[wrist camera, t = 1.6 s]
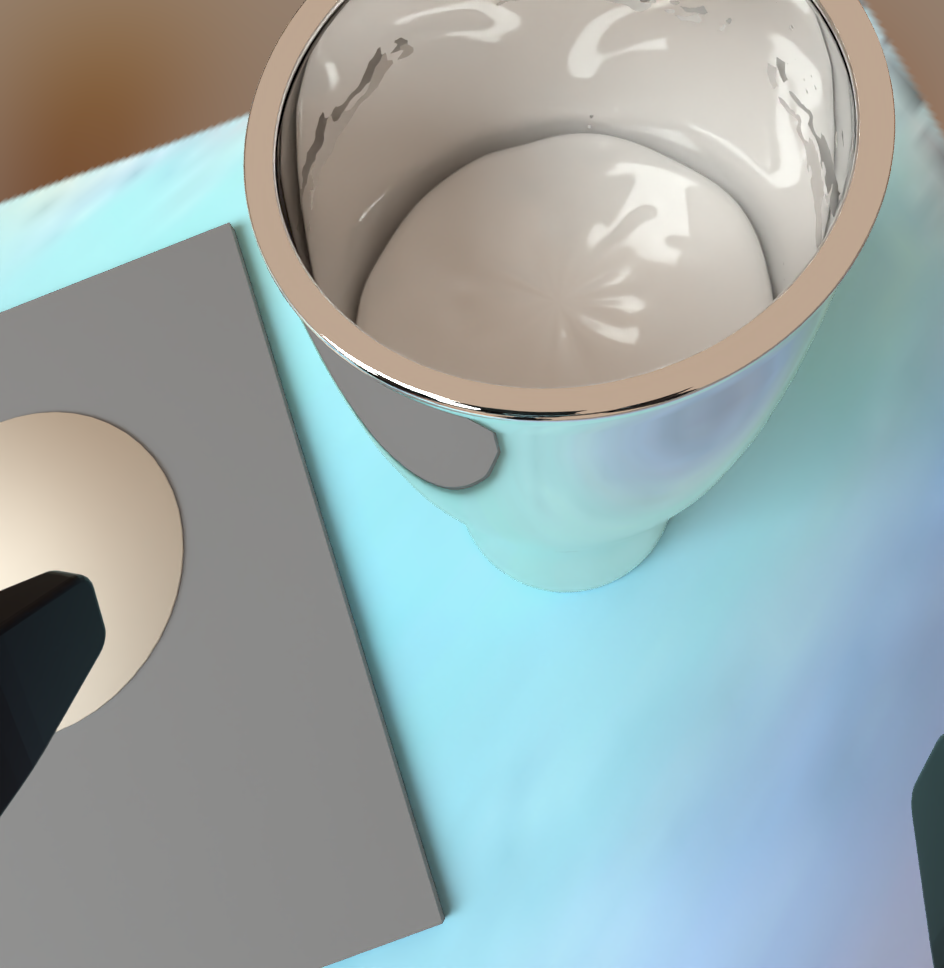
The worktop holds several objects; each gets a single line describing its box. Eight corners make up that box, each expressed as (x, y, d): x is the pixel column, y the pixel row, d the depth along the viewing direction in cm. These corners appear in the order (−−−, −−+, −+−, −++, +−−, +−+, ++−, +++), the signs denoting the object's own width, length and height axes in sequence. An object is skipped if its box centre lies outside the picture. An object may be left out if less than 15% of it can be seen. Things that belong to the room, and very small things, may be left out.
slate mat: (445, 918, 19) (441, 924, 19) (-196, 1152, 20) (-215, 1164, 19) (234, 229, 26) (227, 220, 25) (-249, 419, 26) (-264, 414, 26)
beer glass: (740, 485, 21) (1085, 71, 7) (566, 662, 21) (557, 605, 6) (561, 332, 23) (546, -240, 9) (397, 490, 23) (96, 147, 8)
